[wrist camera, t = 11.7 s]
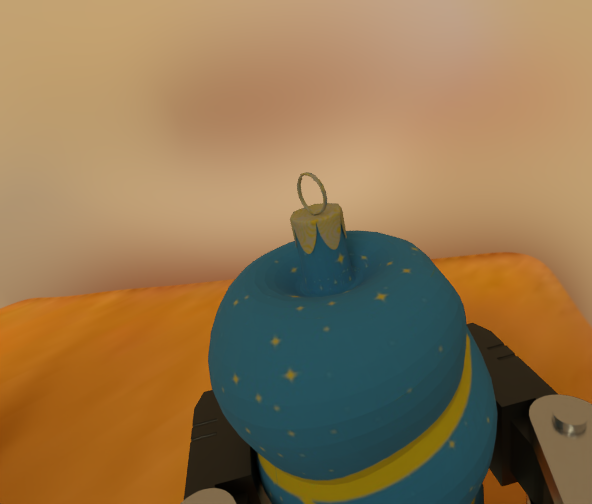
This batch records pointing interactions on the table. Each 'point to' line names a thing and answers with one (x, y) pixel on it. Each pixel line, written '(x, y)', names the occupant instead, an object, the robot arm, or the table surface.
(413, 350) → the ornament
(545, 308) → the table surface
